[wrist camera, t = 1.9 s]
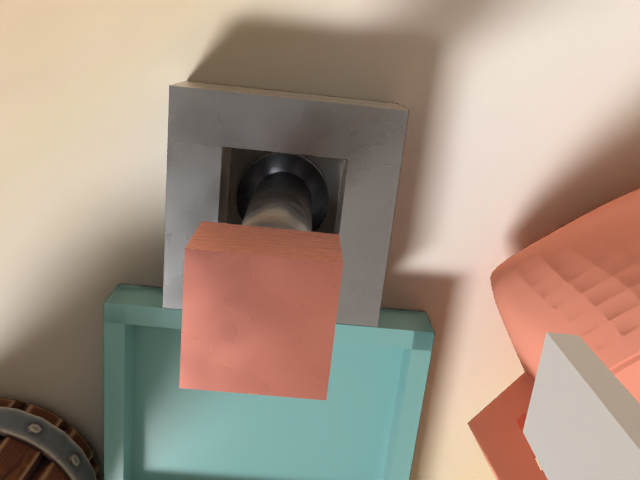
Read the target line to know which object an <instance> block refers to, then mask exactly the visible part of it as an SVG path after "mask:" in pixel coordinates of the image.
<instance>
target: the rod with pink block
mask: <svg viewBox="0 0 640 480" xmlns="http://www.w3.org/2000/svg"><path fill="white" fill-rule="evenodd" d="M237 207H238V211H239V214H240V216H241V219H242V220H243V222H242V224H241V225H237V224H227V223H217V222H206V221H202V222H201V223H200V225H199V226H198V228H197V230H196V231H195V233H194V234H193V236H192V238H191V239H190V241H189V242H188V244H187V246H186V247H185V258H184V283H183V307H182V331H181V356H180V380H179V388H185V389H197V390H209V391H220V392H232V393H244V394H256V395H268V396H280V397H291V398H303V399H315V400H326V399H327V391H328V383H329V375H330V367H331V359H332V350H333V342H334V334H335V326H336V318H337V310H338V302H339V294H340V285H341V277H342V269H343V258H342V251H341V244H340V237H339V234H331V233H320V232H315V231H316V230H317V229H318V227H319V226H320V225H321V223H322V222H323V220H324V218H325V216H326V213H327V209H328V189H327V184H326V181H325V178H324V176H323V174H322V172H321V171H320V170H319V168H318V167H317V166H316V165H315V164H314V163H313V162H312V161H311V160H309V159H308V158H306V157H304V156H302V155H300V154H290V153H280V152H272V153H268V154H266V155H263V156H262V157H260V158H258V159H257V160H255V161H254V162H253V163H252V164H251V165H250V166H249V167H248V169H247V170H246V171H245V173H244V175H243V177H242V179H241V181H240V183H239V186H238V190H237Z"/></svg>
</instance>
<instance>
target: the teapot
mask: <svg viewBox="0 0 640 480" xmlns="http://www.w3.org/2000/svg"><path fill="white" fill-rule="evenodd" d="M490 279H491V285H492V290H493V294H494V298H495V302H496V305H497V307H498V310H499V312H500V315H501V317H502V320H503V322H504V325H505V327H506V330H507V332H508V334H509V337H510V339H511V341H512V343H513V346H514V348H515V350H516V353H517V355H518V357H519V359H520V362H521V364H522V366H523V368H524V371H525V373H524V374H522V375H521V376H520V377H519V378H518V379H517V380H516V381H515V382H513V383H512V384H511V385H510V386H509V387H508V388H507V389H506V390H504V391H503V392H502V393H501V394H500V395H499V396H498V397H497V398H495V399H494V400H493V401H492V402H491V403H490V404H489V405H488V406H486V407H485V408H484V409H483V410H482V411H481V412H480V413H479V414H477V415H476V416H475V417H474V418H473V419H472V420H471V421H470V422H468V425H469V427H470V429H471V431H472V433H473V435H474V437H475V439H476V440H477V442H478V444H479V446H480V448H481V450H482V452H483V454H484V456H485V458H486V460H487V462H488V464H489V466H490V468H491V469H492V471H493V473H494V475H495V477H496V479H497V480H548V479H547V477H546V476H545V474H544V472H543V470H540V468H539V466H538V464H537V462H536V460H535V458H536V456H535V455H534V453H533V451H532V449H531V447H530V445H529V443H528V441H527V439H526V437H525V436H524V434H523V429H524V424H525V420H526V416H527V412H528V408H529V403H530V399H531V395H532V391H533V387H534V382H535V378H536V374H537V370H538V366H539V361H540V357H541V353H542V349H543V345H544V340H545V336H546V332H551V333H561V334H572V335H579V336H580V337H581V339H582V340H583V341H584V342H585V343H586V344H587V345H588V346H589V348H590V349H591V350H592V351H593V352H594V353H595V354H596V355H597V357H598V358H599V359H600V360H601V361H602V362H603V363H604V364H605V365H606V367H607V368H608V369H609V370H610V371H611V372H612V373H613V374H614V376H615V377H616V378H617V379H618V380H619V381H620V382H621V383H622V384H623V386H624V387H625V388H626V389H627V390H628V391H629V392H630V393H631V395H632V396H633V397H634V398H635V399H636V400H637V401H638V402H639V404H640V188H639V189H637V190H634V191H632V192H630V193H627V194H625V195H623V196H621V197H619V198H617V199H614V200H612V201H610V202H608V203H606V204H604V205H602V206H600V207H598V208H596V209H594V210H592V211H590V212H588V213H586V214H585V215H583V216H581V217H579V218H577V219H575V220H574V221H572V222H570V223H568V224H566V225H565V226H563V227H561V228H559V229H557V230H556V231H554V232H552V233H550V234H549V235H547V236H545V237H543V238H542V239H540V240H538V241H536V242H535V243H533V244H531V245H529V246H528V247H526V248H524V249H523V250H521V251H520V252H518V253H516V254H515V255H513V256H511V257H510V258H508V259H507V260H506V261H504V262H503V263H502V264H500V265H499V266H498V267H497V268H496V269H495V270H494V271H493V272H492V274H491V277H490Z"/></svg>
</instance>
